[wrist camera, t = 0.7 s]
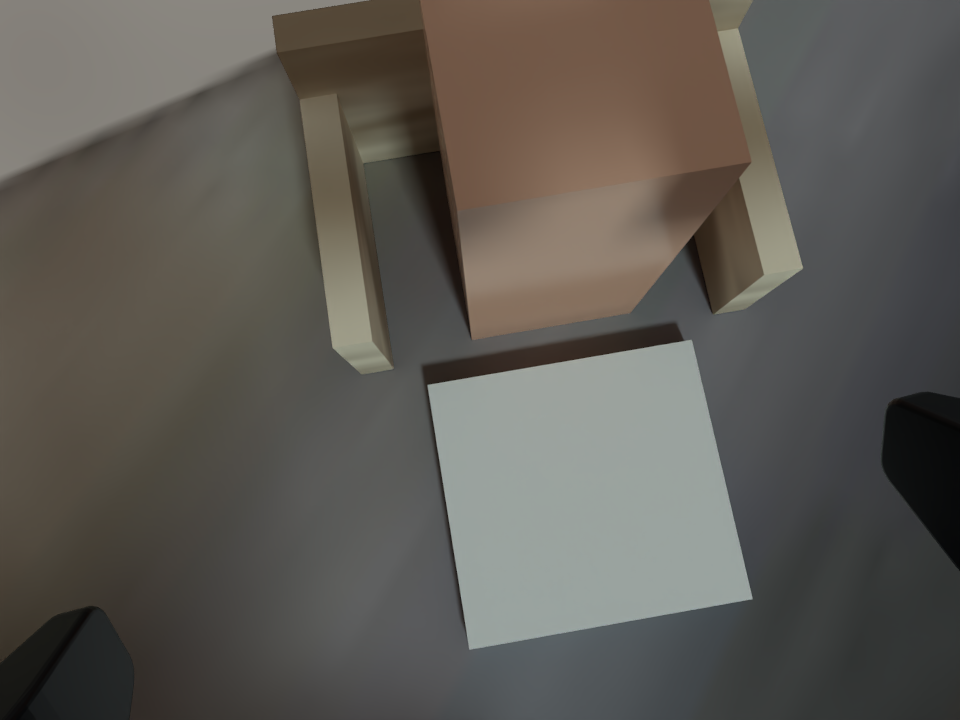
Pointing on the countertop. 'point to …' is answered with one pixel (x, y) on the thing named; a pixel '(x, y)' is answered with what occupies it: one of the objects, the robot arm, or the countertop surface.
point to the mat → (585, 494)
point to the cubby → (413, 130)
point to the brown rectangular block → (576, 149)
